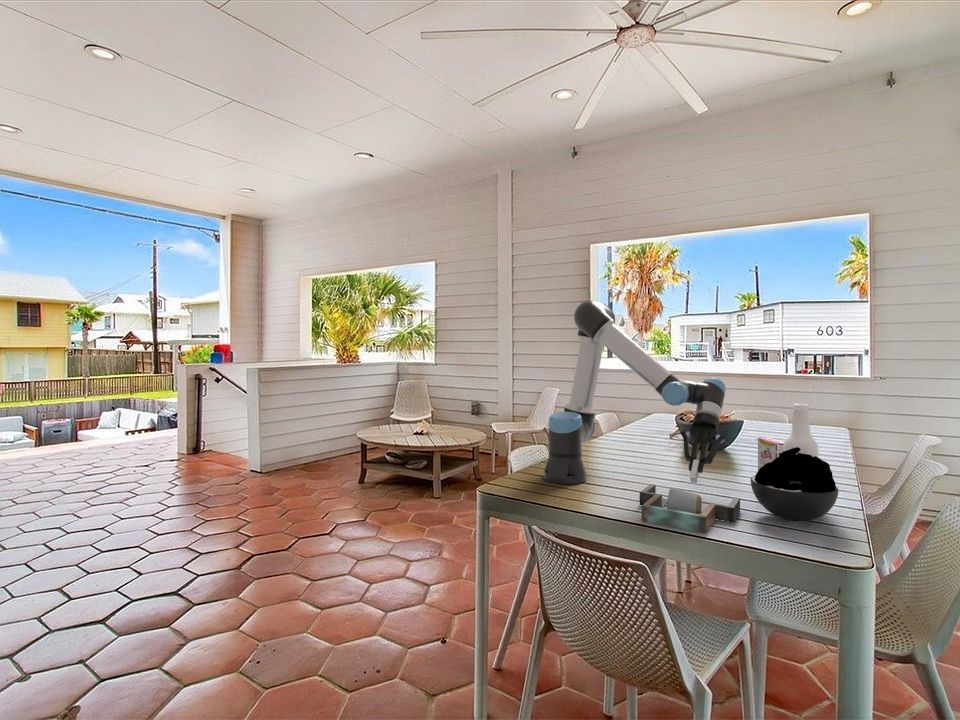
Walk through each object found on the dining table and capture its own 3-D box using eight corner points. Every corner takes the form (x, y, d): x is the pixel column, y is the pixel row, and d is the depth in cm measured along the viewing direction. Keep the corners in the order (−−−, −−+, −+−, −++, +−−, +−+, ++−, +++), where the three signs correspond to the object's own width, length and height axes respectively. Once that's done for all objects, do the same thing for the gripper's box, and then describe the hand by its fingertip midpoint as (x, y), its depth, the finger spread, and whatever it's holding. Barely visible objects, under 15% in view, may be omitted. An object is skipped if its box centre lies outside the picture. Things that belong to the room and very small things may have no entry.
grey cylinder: (699, 525, 128) (699, 495, 128) (666, 519, 132) (666, 491, 132) (702, 514, 137) (703, 486, 137) (671, 509, 141) (672, 483, 141)
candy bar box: (756, 485, 167) (756, 437, 167) (771, 485, 167) (771, 437, 167) (775, 494, 156) (776, 443, 155) (791, 494, 156) (792, 443, 155)
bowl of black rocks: (808, 538, 119) (808, 461, 118) (734, 514, 137) (734, 447, 136) (854, 525, 127) (855, 454, 127) (779, 504, 145) (780, 441, 145)
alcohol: (775, 500, 149) (776, 402, 149) (802, 499, 150) (803, 402, 150) (797, 509, 140) (798, 405, 140) (825, 508, 141) (826, 405, 141)
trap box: (625, 517, 134) (625, 502, 134) (650, 496, 153) (650, 484, 153) (725, 537, 119) (725, 521, 119) (740, 511, 138) (740, 497, 138)
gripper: (730, 427, 157) (718, 491, 144) (687, 424, 165) (672, 483, 152) (727, 413, 153) (714, 476, 140) (683, 409, 161) (668, 469, 148)
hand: (693, 480), depth 146 cm, fingers closed
